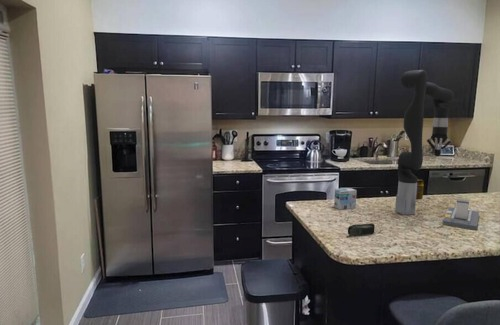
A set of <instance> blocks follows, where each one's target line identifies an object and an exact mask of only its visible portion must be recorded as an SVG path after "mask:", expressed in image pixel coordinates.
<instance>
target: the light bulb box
mask: <svg viewBox="0 0 500 325" xmlns="http://www.w3.org/2000/svg"><path fill="white" fill-rule="evenodd" d="M333 200H334V202H333V207H334V208H336V209H338V210H339V211H340V210H354V209H356V207H357V189H354V188H352V187H344V188H341V187H340V188H334V199H333Z"/></svg>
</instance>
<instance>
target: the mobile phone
mask: <svg viewBox="0 0 500 325" xmlns="http://www.w3.org/2000/svg"><path fill="white" fill-rule="evenodd" d="M374 234H375V224H374V223H373V222H372V223H360V224H352V225H349V226H348V228H347V235H346V238H352V237H358V236H359V237H360V236H361V237H362V236H369V235H374Z"/></svg>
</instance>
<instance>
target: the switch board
mask: <svg viewBox="0 0 500 325" xmlns="http://www.w3.org/2000/svg"><path fill="white" fill-rule="evenodd" d="M455 215H456V206H454V207H448V209H447V210H446V212H445V214H444V218H443V220H442V225H444V226H448V227H454V228H461V229H466V230H473V231H478V224H479V216H480V211H477V210H473V208H469V209H468V217H467V219H461V218H455Z"/></svg>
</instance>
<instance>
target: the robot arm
mask: <svg viewBox="0 0 500 325" xmlns="http://www.w3.org/2000/svg"><path fill="white" fill-rule="evenodd" d="M400 84H401V86H402V87H403V88H404V89H406V90H410V91H413V92H414V95H413V99H412V101H411V103H410V104H409V106H408V107H407V108H406V110H405V112H404V115H403V130H404V132H405V135H406V136H407V139H408V140H409V142H410V143H409V144H410V150H411V151H402V152H400V154H399V156H398V160H397V177H398V183H397V184H398V186H397V194H396V195H395V205H394V206H395V207H394V212H395V213H398V214H401V215H403V216H404V215H406V216H407V215H408V216H409V215H410V216H411V215H412V216H414V215H415V213H416V205H417V204H416V202H417V200H416V192H417V180H418V179H419V178H418V176H416V175H415V174H414V173H413V172H412V171H419V170H420V169H421V168H422V166H423V160H424V155H423V154H424V153H423V152H424V151H423V128H424V114H425V113H424V112H425V110H424V109H425V98H426V96H427V97H428V98H430V99H432V102H433V103H432V104H433V109H434V114H433V116H434V117H433V120H432V132H431V135H430V138H427V139H426V142H427V143H428V144H429V146H430V147H431V149H434V156H436V157H440V156H441V154H442V153H441V152H442V150H444V149H446V148H447V147H448V146H449V145H450V144H451V143H452V140H451V139H449V137H448V127H449V108H448V107H446V106H445V107H444V106H442V104H449V103H451V102H452V101H453V100H454V98H455V94H454V93H453V91H452V90H450V89H448V88H444V87H441V86H440V85H437V84H435V83H433V82H429V81H428V74H427V71H426V70H425V69H415V70H408V71H405V72H403V74H402V75H401V78H400ZM445 142H446V143H445ZM433 143H434V144H433ZM444 143H445V144H444ZM443 144H444V145H443Z"/></svg>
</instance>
